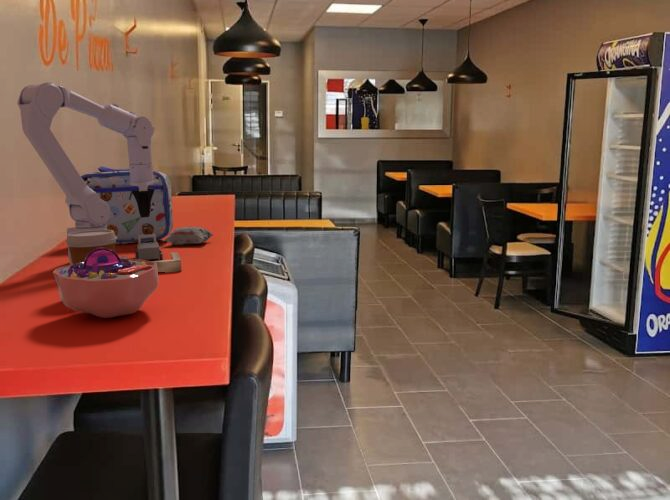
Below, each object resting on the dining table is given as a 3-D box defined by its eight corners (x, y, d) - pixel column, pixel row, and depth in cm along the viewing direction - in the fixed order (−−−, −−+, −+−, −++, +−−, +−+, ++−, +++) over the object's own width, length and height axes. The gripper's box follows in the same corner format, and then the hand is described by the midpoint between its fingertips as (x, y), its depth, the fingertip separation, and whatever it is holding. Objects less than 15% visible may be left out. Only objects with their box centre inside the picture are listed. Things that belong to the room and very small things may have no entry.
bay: (121, 276, 155) (120, 265, 155) (121, 267, 166) (120, 256, 166) (181, 271, 159) (180, 260, 158) (178, 262, 170) (177, 252, 169)
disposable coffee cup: (74, 301, 133) (68, 238, 131) (68, 292, 141) (61, 232, 139) (126, 294, 137) (120, 233, 135) (116, 285, 146) (111, 227, 144)
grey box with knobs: (135, 262, 171) (134, 240, 170) (135, 256, 180) (133, 235, 179) (163, 260, 173) (161, 238, 172) (161, 254, 182) (159, 233, 181)
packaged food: (203, 247, 192) (202, 229, 191) (162, 247, 194) (161, 229, 193) (214, 242, 200) (213, 225, 200) (174, 243, 202) (173, 225, 202)
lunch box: (72, 247, 199) (64, 169, 196) (84, 241, 210) (76, 167, 206) (170, 243, 200) (164, 165, 197) (177, 237, 210) (171, 163, 207)
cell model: (61, 336, 110) (53, 264, 108) (55, 308, 128) (49, 247, 126) (171, 321, 116) (165, 253, 114) (151, 297, 134) (146, 238, 133)
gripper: (157, 164, 176) (162, 218, 178) (155, 162, 190) (159, 213, 192) (128, 165, 174) (133, 220, 176) (128, 163, 188) (132, 214, 190)
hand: (145, 217), depth 184 cm, fingers closed
